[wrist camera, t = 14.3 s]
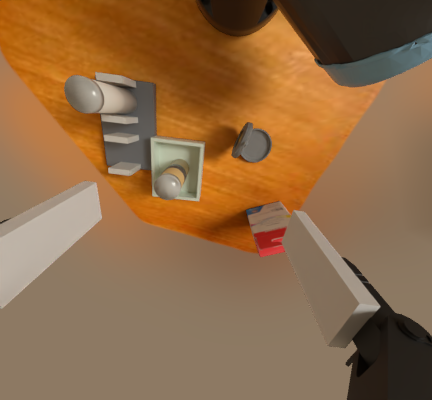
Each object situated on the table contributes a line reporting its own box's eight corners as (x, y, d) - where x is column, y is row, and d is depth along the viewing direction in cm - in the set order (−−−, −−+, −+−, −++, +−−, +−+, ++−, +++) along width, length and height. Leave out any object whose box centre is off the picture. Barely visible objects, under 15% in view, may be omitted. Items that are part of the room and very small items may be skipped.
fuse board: (100, 76, 33) (74, 68, 27) (155, 84, 34) (142, 77, 28) (110, 163, 40) (92, 171, 34) (157, 168, 40) (146, 178, 34)
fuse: (113, 86, 33) (60, 72, 22) (136, 90, 33) (96, 77, 22) (115, 112, 34) (68, 111, 23) (137, 115, 35) (101, 115, 24)
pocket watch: (271, 158, 39) (287, 171, 30) (231, 164, 40) (235, 179, 31) (269, 117, 36) (287, 118, 27) (227, 124, 36) (229, 127, 27)
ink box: (249, 225, 46) (262, 270, 33) (245, 208, 44) (257, 249, 31) (283, 217, 45) (311, 260, 32) (280, 200, 43) (308, 237, 30)
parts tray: (156, 135, 37) (150, 137, 34) (205, 141, 38) (204, 144, 35) (157, 189, 42) (152, 196, 39) (200, 194, 43) (199, 201, 40)
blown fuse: (170, 157, 39) (153, 173, 28) (190, 159, 39) (180, 177, 28) (170, 175, 40) (153, 198, 29) (188, 178, 41) (179, 201, 30)
